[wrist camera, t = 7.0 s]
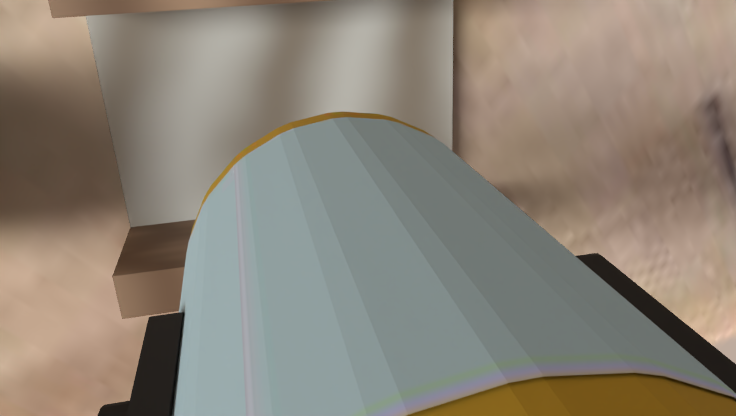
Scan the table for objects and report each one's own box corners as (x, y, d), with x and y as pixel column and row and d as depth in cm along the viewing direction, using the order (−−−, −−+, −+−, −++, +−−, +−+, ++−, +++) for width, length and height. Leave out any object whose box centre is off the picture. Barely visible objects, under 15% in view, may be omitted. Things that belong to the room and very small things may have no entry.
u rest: (447, -63, 28) (497, -67, 23) (446, 218, 34) (487, 266, 28) (77, -45, 26) (37, -46, 20) (140, 257, 31) (122, 318, 26)
